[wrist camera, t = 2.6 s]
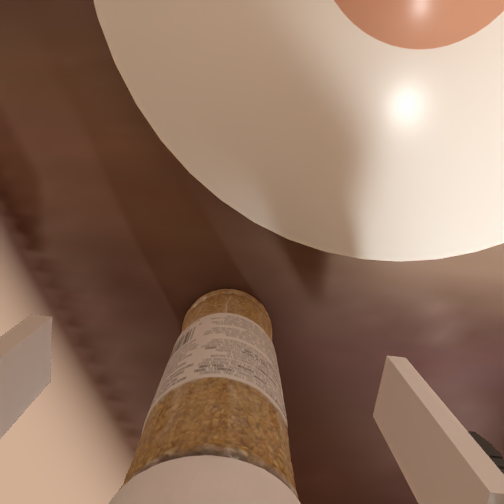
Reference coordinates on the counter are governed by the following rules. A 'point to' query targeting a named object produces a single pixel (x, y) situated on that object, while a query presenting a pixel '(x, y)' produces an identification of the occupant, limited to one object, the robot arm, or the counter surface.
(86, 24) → the counter surface
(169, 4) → the disc
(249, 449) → the sprinkles bottle
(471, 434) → the robot arm
